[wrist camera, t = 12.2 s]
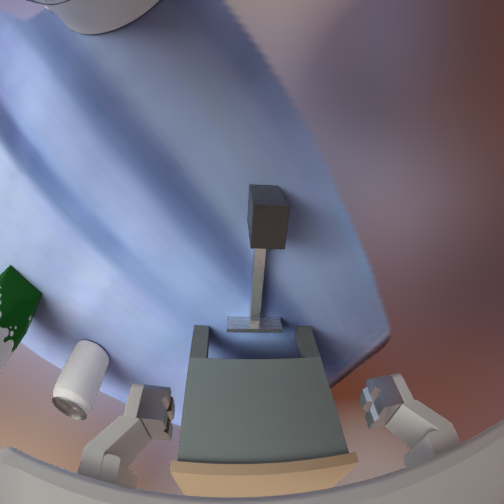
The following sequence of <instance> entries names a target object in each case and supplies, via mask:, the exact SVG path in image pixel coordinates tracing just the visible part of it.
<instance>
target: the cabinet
mask: <svg viewBox="0 0 504 504" xmlns="http://www.w3.org/2000/svg"><path fill="white" fill-rule="evenodd" d="M209 337H210V336H209V326H197V325H194V331H193V337H192V344H191V351H190V358H189V365H188V373H187V380H186V388H185V396H184V404H183V413H182V422H181V432H180V441H179V452H178V461H171V466H170V472H171V474H172V476H173V477H174V479H175V481H176V482H177V484H178V486H179V487H180V488H181V490H182V492H183V493H184V495H187V496H200V497H263V496H277V495H287V494H296V493H304V492H311V491H317V490H323V489H328V488H332V487H333V486H334V485H335V484H336V483H338V482H339V481H340V480H341V479H342V478H343V477H344V476H345V475H346V474H347V473H348V472H349V471H350V470H351V469H352V468H353V467H354V466H355V465H356V464H357V463H358V458H357V454H356V452H353V453H349V451H348V448H347V444H346V441H345V437H344V434H343V430H342V427H341V423H340V420H339V416H338V413H337V409H336V406H335V403H334V399H333V396H332V393H331V389H330V386H329V383H328V379H327V376H326V373H325V370H324V366H323V363H322V360H321V357H320V353H319V350H318V347H317V344H316V341H315V338H314V335H313V332H312V328H311V326H297V328H296V333H295V340H296V344H297V348H298V352H299V356H300V358H288V359H211V358H208V349H209Z"/></svg>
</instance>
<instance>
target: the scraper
mask: <svg viewBox="0 0 504 504" xmlns="http://www.w3.org/2000/svg"><path fill="white" fill-rule="evenodd" d="M289 207H290V206H289V204H288V202H287V201H286V199H285V197H284V195H283V194H282V192H281V190H280V188H279V187H278V186H272V185H251V184H249V201H248V219H247V221H248V229H249V238H250V247H251V248H254V253H253V268H252V283H251V298H250V313H249V317H227V332H282V324H281V319H280V317H260V311H261V301H262V290H263V279H264V268H265V257H266V249H285V243H286V234H287V225H288V216H289Z"/></svg>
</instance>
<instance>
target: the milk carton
mask: <svg viewBox="0 0 504 504" xmlns="http://www.w3.org/2000/svg"><path fill="white" fill-rule="evenodd" d="M41 294H42V293H41V292H40V291H38V290H37V289H36V288H35V287H34V286H33V285H32V284H30V283H29V282H28V281H27V280H26V279H25V278H24V277H23V276H22V275H20V274H19V273H18V272H17V271H16V270H15V269H14V268H13V267H12V266H11V265H10V266H9V267H8V268H7V269H6V270H5V271H4V272H3V273H2V274H1V275H0V373H1V372H2V370H3V368H4V367H5V365H6V363H7V362H8V360H9V359H10V357H11V355H12V354H13V352H14V351H15V349H16V348H17V346H18V344H19V343H20V341H21V340H22V338H23V337H24V335H25V334H26V332H27V330H28V328H29V325H30V323H31V321H32V318H33V316H34V313H35V310H36V307H37V305H38V302H39V299H40V297H41Z"/></svg>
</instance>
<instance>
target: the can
mask: <svg viewBox="0 0 504 504" xmlns="http://www.w3.org/2000/svg"><path fill="white" fill-rule="evenodd" d="M108 364H109V357H108V355H107V353H106V351H105V350H104V349H103V348H102V347H101V346H100V345H98V344H97V343H95V342H92V341H89V340H82V341H78V342H77V343H76V345H75V346H74V348H73V350H72V352H71V354H70V356H69V358H68V360H67V362H66V364H65V366H64V368H63V370H62V372H61V374H60V376H59V379H58V381H57V383H56V385H55V387H54V390H53V399H52V402H53V404H54V406H55V407H56V408H57V409H58V410H60V411H61V412H62V413H64V414H66V415H67V416H69V417H71V418H74V419H78V420H85V419H86V418H87V415H88V414H89V413H90V412H91V411H92V409H93V406H94V403H95V400H96V397H97V395H98V392H99V389H100V386H101V383H102V381H103V378H104V375H105V372H106V370H107V367H108Z"/></svg>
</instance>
